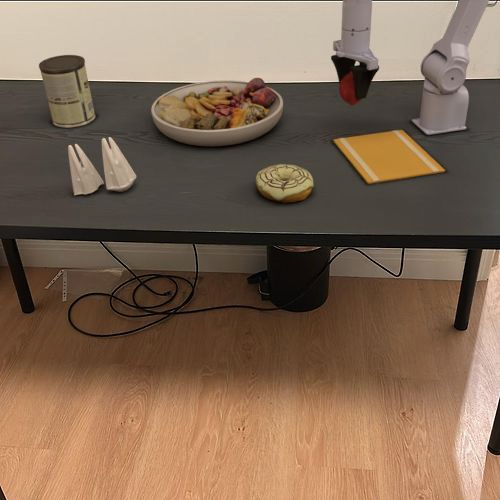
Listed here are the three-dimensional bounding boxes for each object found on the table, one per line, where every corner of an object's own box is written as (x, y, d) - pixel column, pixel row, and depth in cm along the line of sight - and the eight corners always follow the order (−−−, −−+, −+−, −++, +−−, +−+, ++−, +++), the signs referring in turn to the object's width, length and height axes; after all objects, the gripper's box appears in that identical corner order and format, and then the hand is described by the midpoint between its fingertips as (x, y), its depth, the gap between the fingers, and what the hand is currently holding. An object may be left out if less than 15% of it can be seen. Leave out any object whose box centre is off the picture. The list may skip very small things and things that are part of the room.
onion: (365, 111, 131) (367, 73, 127) (337, 110, 133) (338, 72, 128) (366, 100, 136) (369, 63, 132) (339, 99, 137) (341, 63, 133)
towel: (401, 131, 140) (402, 129, 139) (445, 172, 124) (445, 169, 123) (333, 141, 137) (333, 139, 137) (367, 184, 121) (368, 182, 121)
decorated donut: (279, 212, 114) (278, 194, 112) (245, 189, 121) (244, 171, 119) (323, 194, 118) (324, 176, 116) (288, 172, 126) (288, 155, 124)
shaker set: (138, 184, 125) (130, 132, 118) (134, 194, 121) (125, 142, 115) (78, 185, 125) (67, 133, 119) (73, 196, 122) (60, 143, 116)
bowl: (207, 166, 130) (204, 130, 125) (129, 124, 149) (123, 92, 144) (310, 122, 145) (310, 89, 141) (227, 90, 164) (225, 60, 160)
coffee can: (50, 115, 156) (37, 58, 148) (92, 108, 158) (82, 52, 150) (53, 131, 148) (39, 72, 140) (98, 123, 150) (86, 65, 142)
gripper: (320, 21, 129) (319, 85, 137) (357, 40, 118) (353, 108, 126) (350, 16, 132) (348, 80, 139) (389, 34, 120) (384, 102, 128)
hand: (352, 93), depth 133 cm, fingers closed on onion, 6 cm apart
